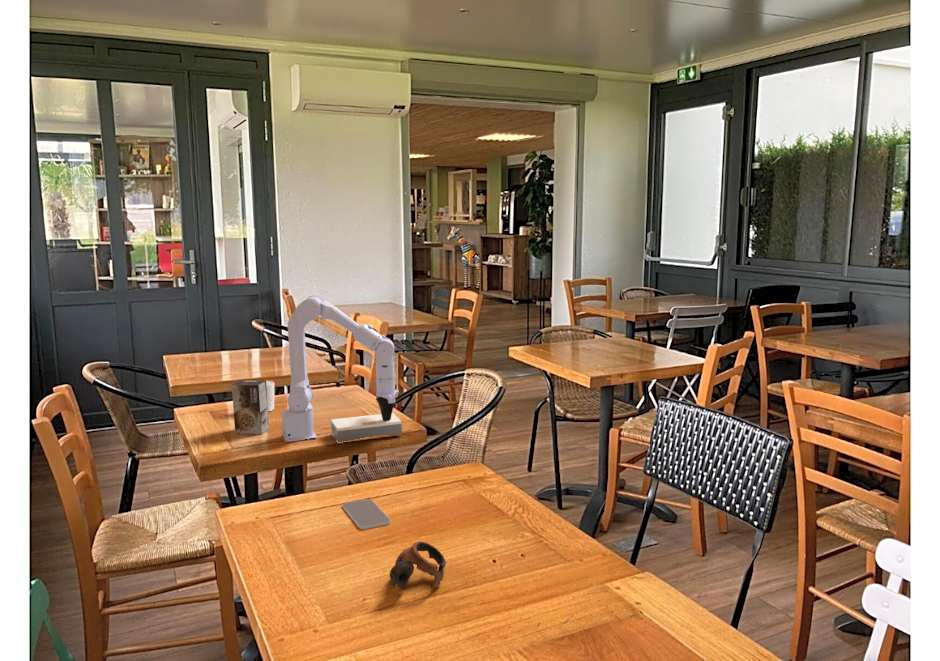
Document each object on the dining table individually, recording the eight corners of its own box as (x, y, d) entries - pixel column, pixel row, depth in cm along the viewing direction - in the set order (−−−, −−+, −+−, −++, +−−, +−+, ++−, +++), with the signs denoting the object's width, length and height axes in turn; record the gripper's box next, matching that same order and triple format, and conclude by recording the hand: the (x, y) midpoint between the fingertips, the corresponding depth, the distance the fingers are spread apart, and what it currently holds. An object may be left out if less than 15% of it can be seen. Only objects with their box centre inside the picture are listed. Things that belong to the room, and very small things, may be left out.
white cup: (251, 409, 251) (249, 382, 249) (273, 406, 254) (272, 379, 253) (254, 415, 244) (252, 386, 242) (277, 412, 247) (276, 384, 245)
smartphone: (370, 498, 171) (392, 521, 158) (370, 501, 171) (392, 525, 158) (340, 503, 168) (360, 527, 155) (341, 507, 168) (360, 531, 155)
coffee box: (269, 428, 228) (267, 380, 226) (261, 434, 222) (259, 384, 219) (242, 427, 229) (239, 379, 227) (234, 433, 223) (231, 384, 220)
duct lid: (337, 431, 212) (337, 426, 212) (331, 421, 222) (331, 417, 221) (401, 423, 220) (401, 419, 219) (392, 415, 229) (392, 411, 229)
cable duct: (337, 443, 213) (337, 431, 212) (331, 434, 222) (331, 422, 222) (401, 436, 220) (401, 423, 220) (393, 427, 229) (392, 415, 229)
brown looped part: (403, 567, 140) (424, 533, 138) (437, 600, 135) (459, 566, 134) (368, 579, 129) (390, 543, 128) (403, 615, 125) (426, 578, 123)
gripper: (404, 381, 213) (405, 425, 216) (391, 371, 227) (392, 412, 229) (381, 383, 211) (383, 427, 213) (370, 373, 224) (371, 415, 226)
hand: (386, 420), depth 221 cm, fingers closed, pressing on duct lid
